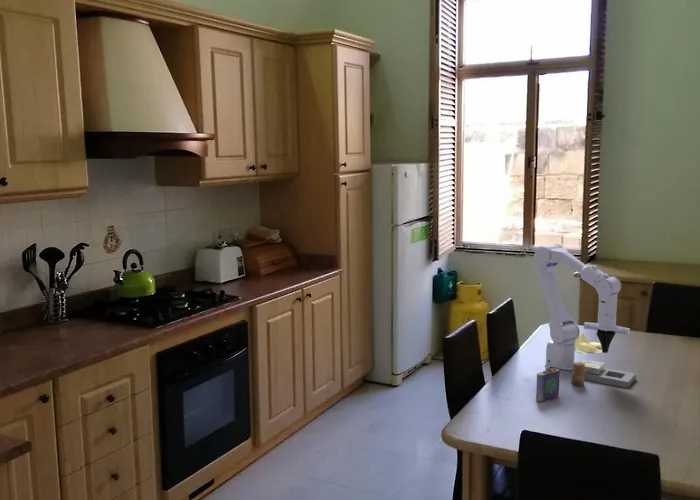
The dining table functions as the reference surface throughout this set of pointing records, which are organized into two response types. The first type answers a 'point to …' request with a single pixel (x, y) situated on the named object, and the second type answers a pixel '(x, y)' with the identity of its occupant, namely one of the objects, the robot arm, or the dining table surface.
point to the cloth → (586, 345)
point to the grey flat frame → (612, 377)
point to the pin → (578, 374)
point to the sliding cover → (593, 366)
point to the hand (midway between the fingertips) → (605, 352)
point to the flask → (547, 384)
